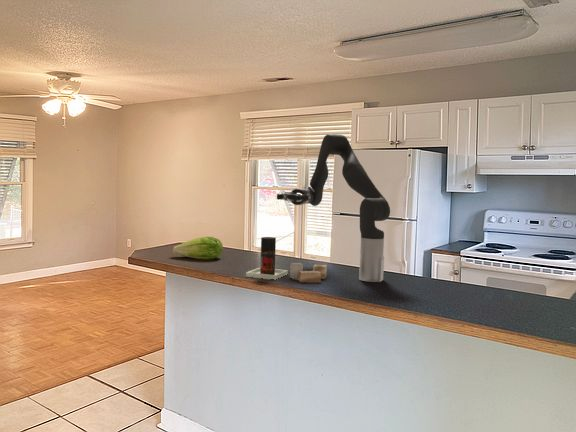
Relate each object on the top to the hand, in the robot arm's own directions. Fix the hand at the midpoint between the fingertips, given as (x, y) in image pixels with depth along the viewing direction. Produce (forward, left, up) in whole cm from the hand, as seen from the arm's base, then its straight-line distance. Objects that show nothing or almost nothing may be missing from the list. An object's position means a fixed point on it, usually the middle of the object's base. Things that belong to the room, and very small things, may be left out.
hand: (287, 197), depth 210 cm
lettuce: (+50, -9, -32) cm, 60 cm away
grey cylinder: (-10, +14, -32) cm, 36 cm away
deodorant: (+2, +15, -32) cm, 35 cm away
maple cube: (-18, +7, -32) cm, 37 cm away
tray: (+2, +15, -32) cm, 35 cm away
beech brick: (-17, +17, -32) cm, 40 cm away
